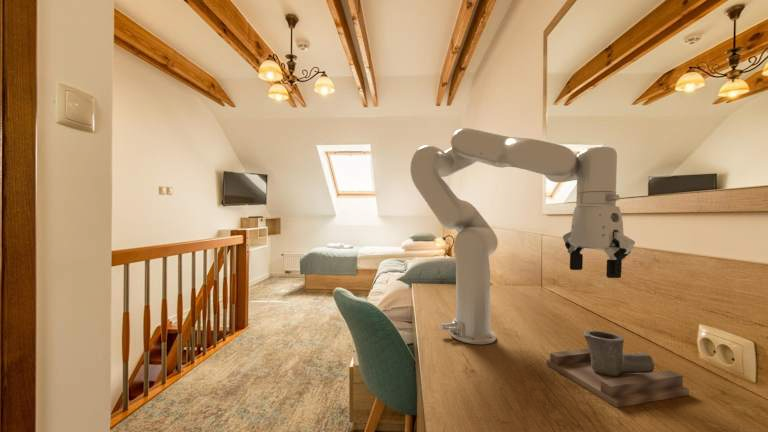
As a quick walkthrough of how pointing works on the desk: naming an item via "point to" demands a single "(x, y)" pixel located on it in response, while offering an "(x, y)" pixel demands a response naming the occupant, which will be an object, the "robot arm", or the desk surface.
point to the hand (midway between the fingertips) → (593, 273)
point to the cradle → (617, 380)
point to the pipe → (614, 355)
